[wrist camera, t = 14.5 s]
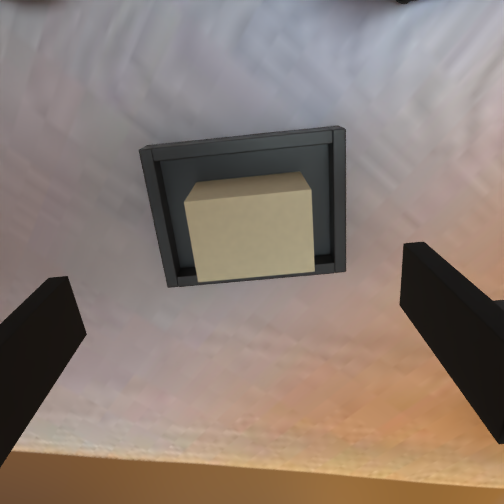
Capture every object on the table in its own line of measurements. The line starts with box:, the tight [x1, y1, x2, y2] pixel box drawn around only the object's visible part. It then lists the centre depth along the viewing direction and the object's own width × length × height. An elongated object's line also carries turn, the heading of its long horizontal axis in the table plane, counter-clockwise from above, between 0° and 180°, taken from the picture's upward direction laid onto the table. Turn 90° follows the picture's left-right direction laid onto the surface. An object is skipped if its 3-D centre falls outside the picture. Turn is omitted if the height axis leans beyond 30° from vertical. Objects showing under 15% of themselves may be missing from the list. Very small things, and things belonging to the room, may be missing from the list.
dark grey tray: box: [139, 126, 346, 288], centre depth 26 cm, size 13×10×2 cm
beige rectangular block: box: [184, 172, 315, 282], centre depth 24 cm, size 7×5×5 cm
